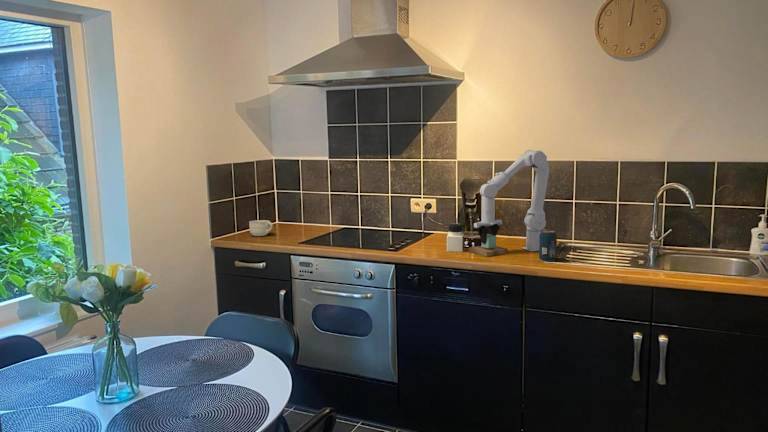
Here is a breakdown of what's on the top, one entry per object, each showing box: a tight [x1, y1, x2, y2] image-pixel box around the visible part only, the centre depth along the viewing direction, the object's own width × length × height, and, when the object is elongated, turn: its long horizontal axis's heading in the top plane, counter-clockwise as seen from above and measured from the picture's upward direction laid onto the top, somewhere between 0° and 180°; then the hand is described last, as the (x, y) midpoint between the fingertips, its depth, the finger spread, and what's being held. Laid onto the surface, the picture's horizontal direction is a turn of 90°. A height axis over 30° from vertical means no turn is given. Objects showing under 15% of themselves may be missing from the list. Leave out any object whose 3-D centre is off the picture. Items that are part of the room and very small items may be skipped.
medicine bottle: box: [446, 223, 465, 253], centre depth 269 cm, size 7×7×12 cm
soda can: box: [538, 229, 558, 262], centre depth 247 cm, size 7×7×12 cm
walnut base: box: [468, 245, 508, 258], centre depth 264 cm, size 12×12×2 cm
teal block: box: [480, 233, 497, 248], centre depth 263 cm, size 4×4×5 cm
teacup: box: [248, 219, 274, 237], centre depth 316 cm, size 14×11×8 cm
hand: (487, 242), depth 263 cm, fingers closed on teal block, 4 cm apart
